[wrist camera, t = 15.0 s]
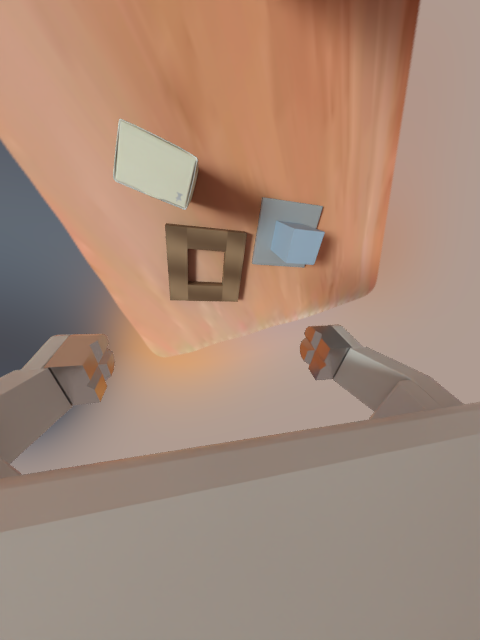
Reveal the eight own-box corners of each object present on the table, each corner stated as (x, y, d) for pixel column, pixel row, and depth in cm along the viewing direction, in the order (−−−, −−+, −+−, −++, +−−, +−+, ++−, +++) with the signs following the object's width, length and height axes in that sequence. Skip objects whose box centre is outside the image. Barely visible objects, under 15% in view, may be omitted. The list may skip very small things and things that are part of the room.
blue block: (276, 220, 32) (294, 228, 26) (301, 223, 33) (324, 232, 27) (270, 249, 34) (285, 262, 28) (294, 251, 35) (314, 264, 30)
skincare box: (199, 167, 27) (203, 158, 17) (190, 202, 29) (189, 212, 19) (147, 141, 24) (116, 113, 15) (142, 181, 26) (111, 180, 17)
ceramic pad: (262, 197, 30) (263, 197, 30) (321, 205, 32) (323, 206, 32) (251, 262, 35) (252, 264, 35) (302, 266, 38) (304, 267, 37)
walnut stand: (166, 223, 30) (165, 225, 28) (244, 231, 32) (246, 233, 31) (171, 296, 36) (170, 300, 35) (236, 297, 39) (237, 301, 38)
